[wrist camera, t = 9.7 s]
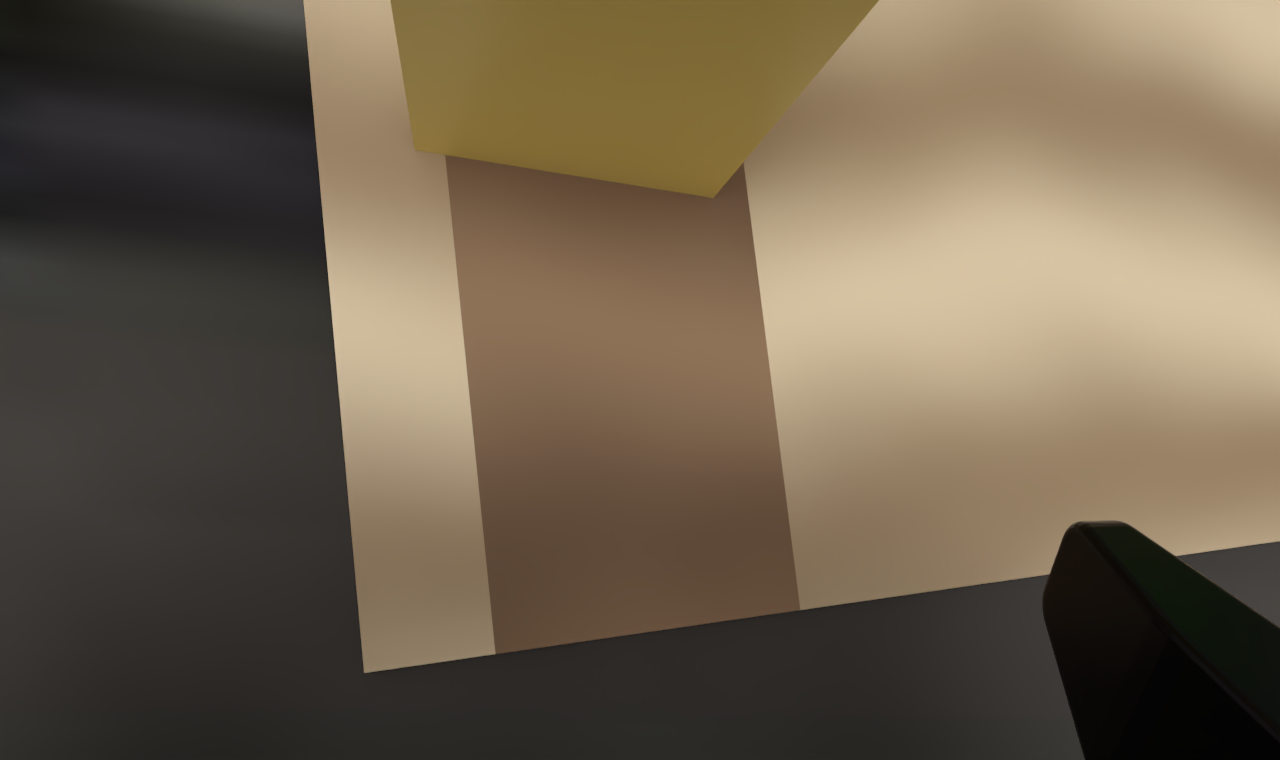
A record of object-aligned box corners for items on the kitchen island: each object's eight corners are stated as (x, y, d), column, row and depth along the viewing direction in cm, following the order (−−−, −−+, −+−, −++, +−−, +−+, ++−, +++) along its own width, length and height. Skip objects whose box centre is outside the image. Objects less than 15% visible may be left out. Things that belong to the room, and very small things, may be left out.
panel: (1467, 506, 20) (1507, 507, 19) (369, 664, 16) (363, 673, 16) (1334, -211, 21) (1367, -239, 21) (289, -215, 18) (281, -247, 17)
